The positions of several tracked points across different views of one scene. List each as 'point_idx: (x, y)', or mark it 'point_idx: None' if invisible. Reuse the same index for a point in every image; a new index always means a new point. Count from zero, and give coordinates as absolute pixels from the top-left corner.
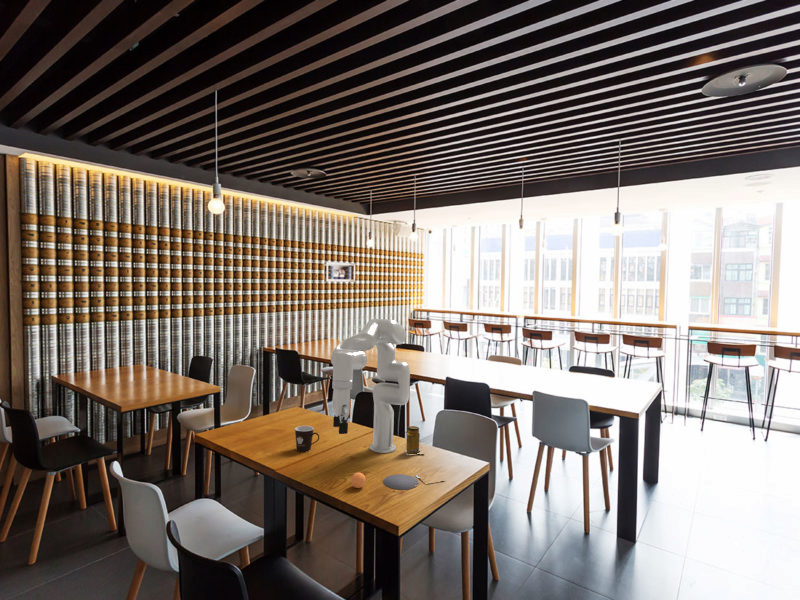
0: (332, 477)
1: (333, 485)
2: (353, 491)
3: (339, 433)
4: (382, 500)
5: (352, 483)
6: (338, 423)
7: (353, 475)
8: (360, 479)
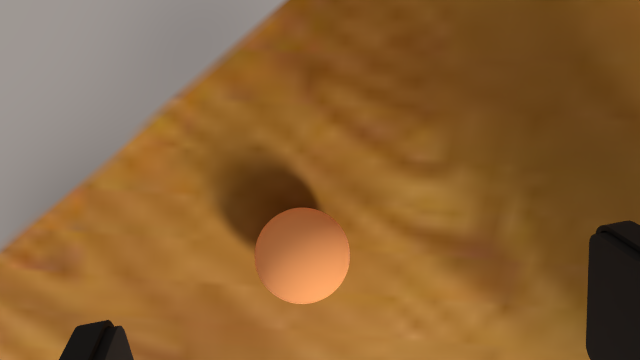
0: (474, 88)
1: (349, 89)
2: (247, 206)
3: (84, 332)
4: None
5: (278, 214)
6: (629, 343)
7: (302, 238)
8: (261, 274)
